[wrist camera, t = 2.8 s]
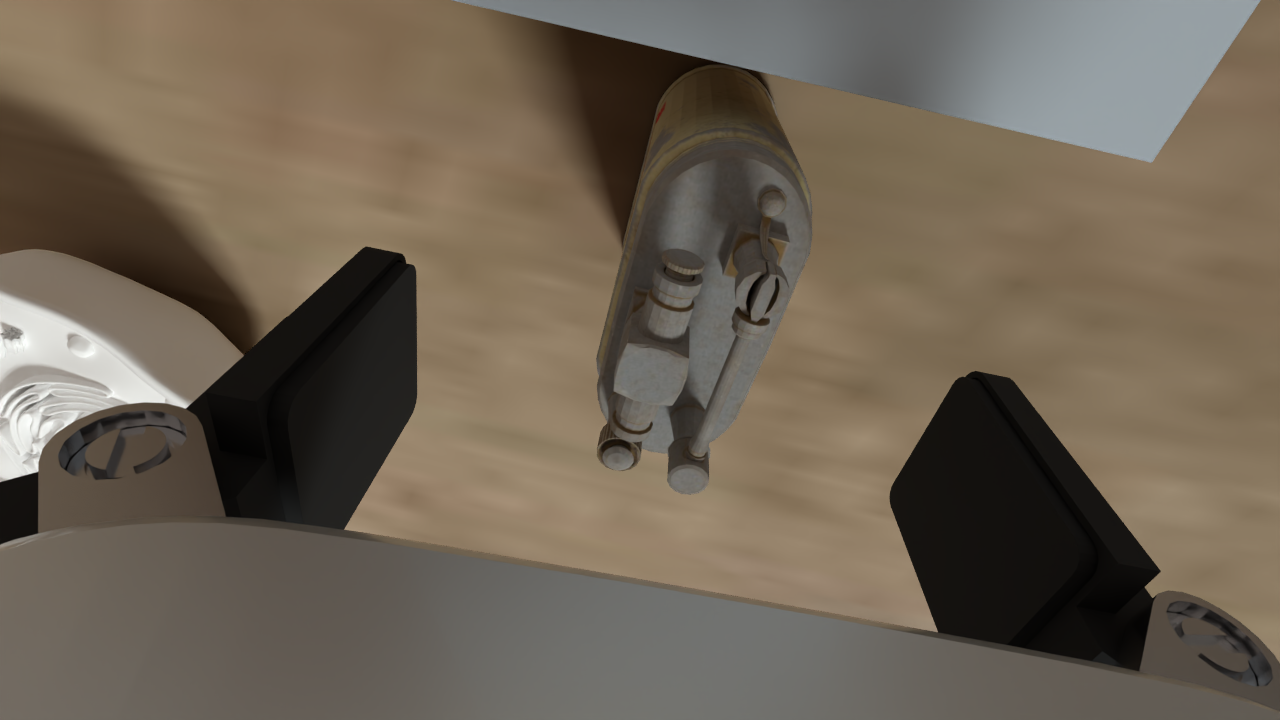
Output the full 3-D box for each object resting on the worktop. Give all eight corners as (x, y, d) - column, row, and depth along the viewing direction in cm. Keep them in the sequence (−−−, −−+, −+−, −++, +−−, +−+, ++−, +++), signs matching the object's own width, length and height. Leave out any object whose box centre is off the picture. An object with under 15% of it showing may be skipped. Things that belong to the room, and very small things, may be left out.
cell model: (147, 155, 19) (-79, 241, 14) (375, 432, 25) (282, 572, 19) (-49, 261, 22) (-305, 368, 16) (197, 488, 28) (71, 624, 22)
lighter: (672, 46, 16) (646, 147, 8) (807, 86, 17) (914, 223, 8) (613, 278, 20) (555, 506, 12) (723, 307, 21) (739, 549, 12)
